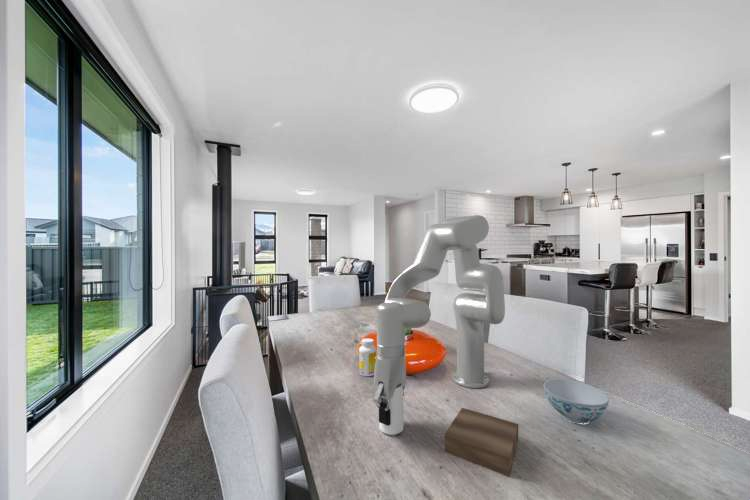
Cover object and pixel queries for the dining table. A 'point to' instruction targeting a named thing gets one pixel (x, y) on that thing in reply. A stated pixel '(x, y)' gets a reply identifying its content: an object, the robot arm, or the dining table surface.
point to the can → (394, 413)
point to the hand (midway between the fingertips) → (391, 416)
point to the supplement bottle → (367, 357)
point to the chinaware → (576, 400)
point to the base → (482, 440)
